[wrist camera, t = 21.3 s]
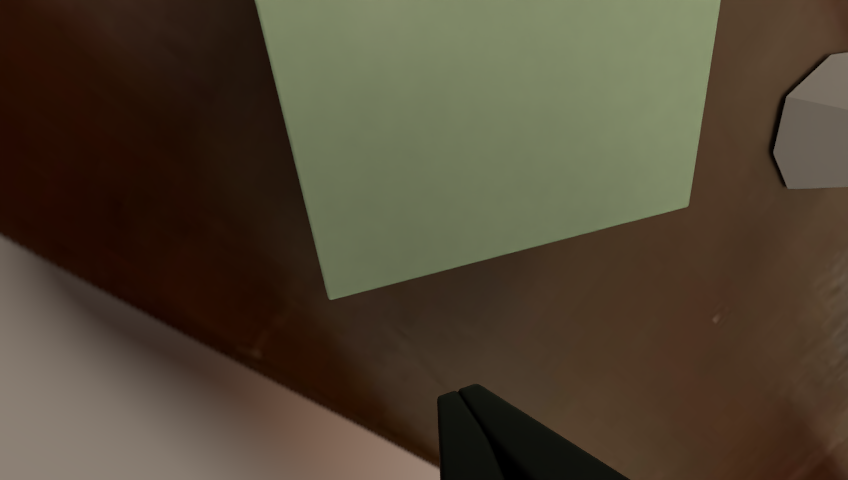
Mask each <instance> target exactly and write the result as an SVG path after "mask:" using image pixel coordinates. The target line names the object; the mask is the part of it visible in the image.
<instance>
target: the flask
mask: <svg viewBox="0 0 848 480" xmlns="http://www.w3.org/2000/svg"><path fill="white" fill-rule="evenodd" d="M773 154H774V156H775V159H776V161H777V164H778V166H779V168H780V171H781V173H782V176H783V178H784V181H785V183H786V185H787V188H788V189H809V188H829V187H848V53H841V54H833V55H830V56H829V57H828V58H827V59H826V60H825V61H824V62H823V63H822V64H821V65H820V66H819V67H817V68H816V69H815V70H814V71H813V72H812V73H811V74H810V75H809V76H808V77H807V78H806V79H805V80H804V81H803V82H801V83H800V84H799V85H798V86H797V87H796V88H795V89H794V90H793V91H792V92H791V93H790V94H789V95H788V96H786V101H785V105H784V109H783V113H782V118H781V122H780V126H779V130H778V135H777V139H776V143H775V147H774V152H773Z"/></svg>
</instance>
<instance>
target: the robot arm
mask: <svg viewBox="0 0 848 480" xmlns="http://www.w3.org/2000/svg"><path fill="white" fill-rule="evenodd" d="M437 407H438V433H439V460H440V480H630V479H628V478H627V477H625V476H623V475H622V474H620V473H619V472H617V471H616V470H614V469H612V468H611V467H609V466H608V465H606V464H604V463H603V462H601V461H600V460H598V459H597V458H595V457H593V456H592V455H590V454H589V453H587V452H585V451H584V450H582V449H581V448H579V447H578V446H576V445H574V444H573V443H571V442H570V441H568V440H566V439H565V438H563V437H562V436H560V435H559V434H557V433H555V432H554V431H552V430H551V429H549V428H547V427H546V426H544V425H543V424H541V423H540V422H538V421H536V420H535V419H533V418H532V417H530V416H528V415H527V414H525V413H524V412H522V411H521V410H519V409H517V408H516V407H514V406H513V405H511V404H509V403H508V402H506V401H505V400H503V399H502V398H500V397H498V396H497V395H495V394H494V393H492V392H490V391H489V390H487V389H486V388H484V387H483V386H481V385H479V384H473V385H470V386H467V387H464V388H461V389H460V390H459V391H458V392H457V391H453V392H450V393H447V394H444V395H441V396H439V397H438V399H437Z"/></svg>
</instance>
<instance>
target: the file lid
mask: <svg viewBox="0 0 848 480" xmlns="http://www.w3.org/2000/svg"><path fill="white" fill-rule="evenodd" d="M720 1H721V0H255V3H256V7H257V11H258V15H259V19H260V23H261V28H262V32H263V36H264V40H265V44H266V48H267V52H268V56H269V60H270V64H271V68H272V72H273V76H274V80H275V84H276V88H277V92H278V96H279V101H280V105H281V109H282V113H283V117H284V121H285V125H286V129H287V133H288V137H289V141H290V145H291V149H292V153H293V157H294V161H295V165H296V169H297V174H298V178H299V182H300V186H301V190H302V194H303V198H304V202H305V206H306V210H307V214H308V218H309V222H310V226H311V230H312V234H313V238H314V243H315V247H316V251H317V255H318V259H319V263H320V267H321V271H322V275H323V279H324V283H325V287H326V291H327V295H328V298H329V299H330V300H333V299H337V298H341V297H345V296H349V295H352V294H356V293H360V292H364V291H368V290H372V289H375V288H379V287H383V286H387V285H391V284H394V283H398V282H402V281H406V280H410V279H414V278H417V277H421V276H425V275H429V274H433V273H437V272H440V271H444V270H448V269H452V268H456V267H459V266H463V265H467V264H471V263H475V262H479V261H482V260H486V259H490V258H494V257H498V256H501V255H505V254H509V253H513V252H517V251H521V250H524V249H528V248H532V247H536V246H540V245H543V244H547V243H551V242H555V241H559V240H563V239H566V238H570V237H574V236H578V235H582V234H585V233H589V232H593V231H597V230H601V229H605V228H608V227H612V226H616V225H620V224H624V223H627V222H631V221H635V220H639V219H643V218H647V217H650V216H654V215H658V214H662V213H666V212H669V211H673V210H677V209H681V208H685V207H688V205H689V200H690V193H691V187H692V180H693V174H694V168H695V161H696V155H697V148H698V142H699V136H700V129H701V123H702V116H703V110H704V104H705V97H706V91H707V84H708V78H709V72H710V65H711V59H712V52H713V46H714V40H715V33H716V27H717V20H718V14H719V8H720Z"/></svg>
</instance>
